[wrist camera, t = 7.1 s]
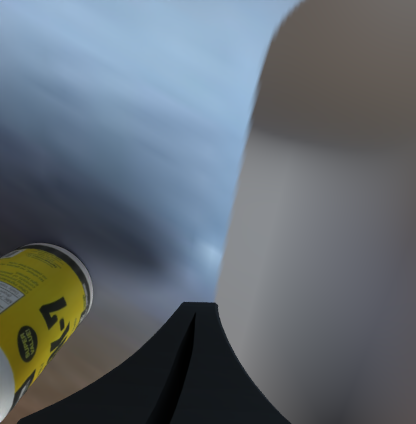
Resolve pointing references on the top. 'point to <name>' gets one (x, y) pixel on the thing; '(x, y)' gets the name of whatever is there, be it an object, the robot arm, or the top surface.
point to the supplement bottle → (37, 313)
